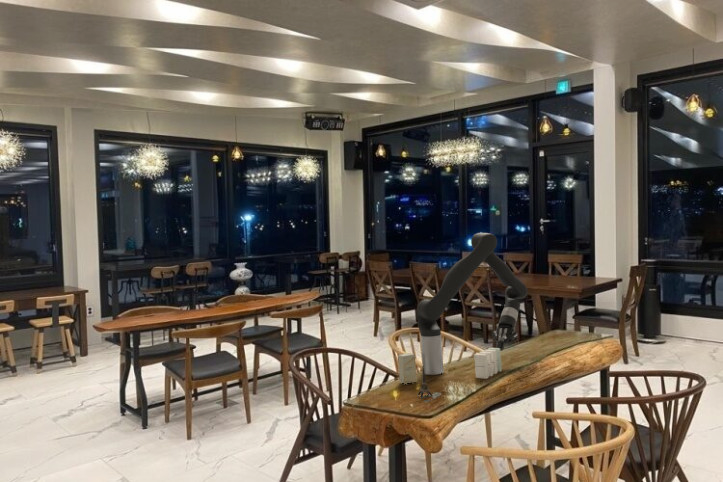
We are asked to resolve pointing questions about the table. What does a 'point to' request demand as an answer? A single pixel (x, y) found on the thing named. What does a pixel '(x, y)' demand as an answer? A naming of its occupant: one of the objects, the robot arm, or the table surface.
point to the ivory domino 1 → (481, 366)
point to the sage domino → (498, 357)
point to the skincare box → (407, 368)
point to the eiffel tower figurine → (427, 390)
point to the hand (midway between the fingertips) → (499, 349)
